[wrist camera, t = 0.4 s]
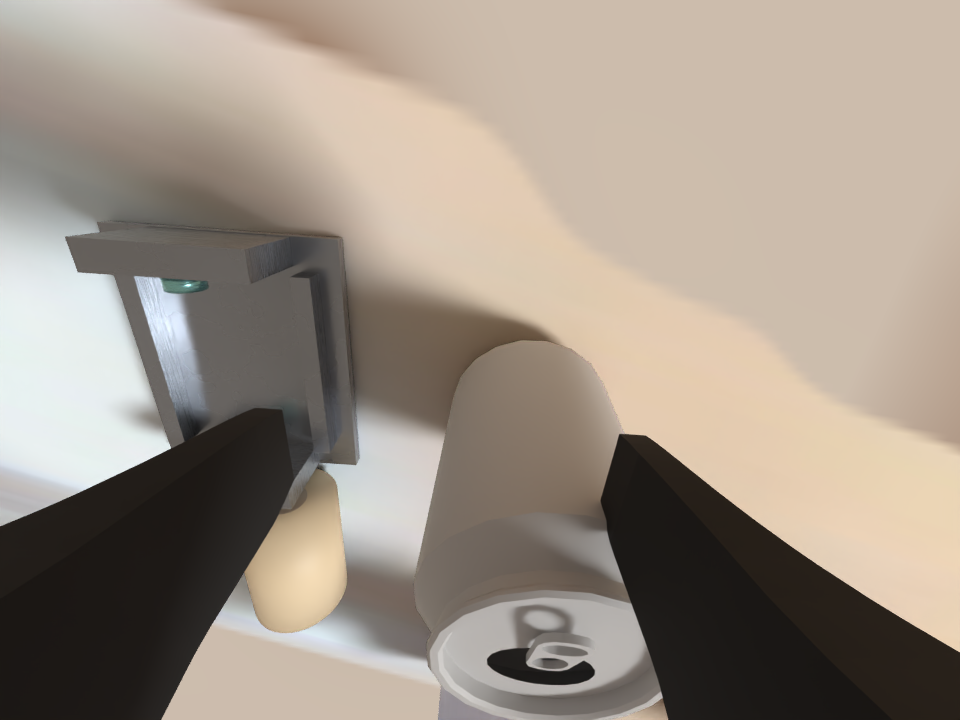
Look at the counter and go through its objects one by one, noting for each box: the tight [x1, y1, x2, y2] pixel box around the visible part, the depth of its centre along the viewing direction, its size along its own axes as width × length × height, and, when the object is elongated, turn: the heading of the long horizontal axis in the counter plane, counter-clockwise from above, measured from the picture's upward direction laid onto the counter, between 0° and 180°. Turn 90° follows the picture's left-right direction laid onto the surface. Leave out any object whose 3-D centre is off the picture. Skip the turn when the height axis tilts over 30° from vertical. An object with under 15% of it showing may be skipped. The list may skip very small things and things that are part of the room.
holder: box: [65, 221, 359, 509], centre depth 17 cm, size 10×12×4 cm
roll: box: [244, 469, 347, 633], centre depth 21 cm, size 7×5×5 cm
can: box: [413, 340, 663, 720], centre depth 14 cm, size 8×8×12 cm
